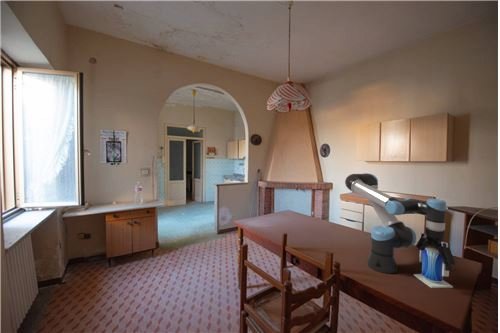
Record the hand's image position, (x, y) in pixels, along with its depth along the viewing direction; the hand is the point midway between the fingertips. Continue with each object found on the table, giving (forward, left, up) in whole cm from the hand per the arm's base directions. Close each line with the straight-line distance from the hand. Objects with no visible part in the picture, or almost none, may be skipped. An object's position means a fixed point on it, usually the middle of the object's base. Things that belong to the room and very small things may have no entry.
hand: (433, 268), depth 110 cm
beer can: (0, +1, -6) cm, 6 cm away
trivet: (0, 0, -7) cm, 7 cm away
